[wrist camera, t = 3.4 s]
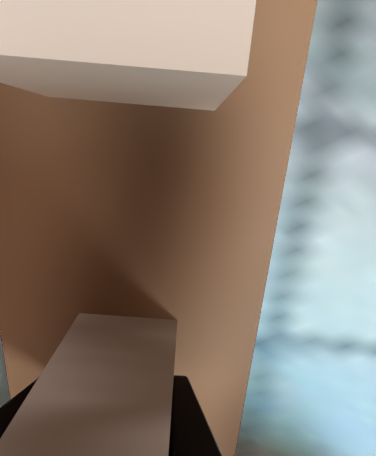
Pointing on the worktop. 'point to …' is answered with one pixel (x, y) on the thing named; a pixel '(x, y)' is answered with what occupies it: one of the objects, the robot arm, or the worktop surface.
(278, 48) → the pallet
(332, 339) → the worktop surface
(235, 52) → the block
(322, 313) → the worktop surface
